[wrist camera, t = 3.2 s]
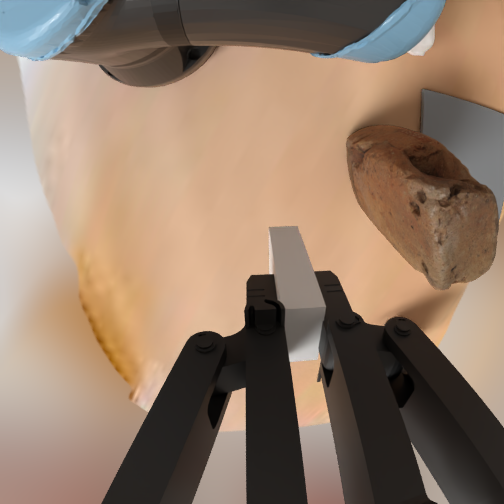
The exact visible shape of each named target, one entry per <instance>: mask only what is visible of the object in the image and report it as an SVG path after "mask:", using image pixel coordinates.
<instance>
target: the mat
mask: <svg viewBox="0 0 504 504" xmlns="http://www.w3.org/2000/svg"><path fill="white" fill-rule="evenodd" d="M420 133H422V134H424V135H427V136H429V137H431V138H433V139H435V140H437V141H439V142H440V143H441V144H443V145H444V146H445V147H446V148H447V149H448V150H449V151H450V152H451V153H453V154H454V155H455V157H457V158H458V159H459V160H460V161H461V163H462V164H463V165H465V166H466V167H467V168H468V170H469V173H470V174H471V176H472V177H473V178H474V179H476V180H477V181H478V182H479V183H480V184H483V185H486V186H487V187H488V188H489V189H491V190H492V192H493V193H494V195H495V197H496V201H497V207H498V214H499V219H500V214H501V210H502V206H503V201H504V114H502V113H500V112H497V111H494V110H492V109H489V108H486V107H484V106H481V105H478V104H475V103H472V102H469V101H466V100H462V99H459V98H456V97H452V96H449V95H445V94H441V93H438V92H434V91H430V90H426V89H422V107H421V130H420Z"/></svg>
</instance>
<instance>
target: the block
mask: <svg viewBox="0 0 504 504" xmlns="http://www.w3.org/2000/svg"><path fill="white" fill-rule="evenodd" d="M346 146H347V163H348V170H349V175H350V180H351V184H352V188H353V191H354V194H355V196H356V199H357V201H358V203H359V205H360V207H361V208H362V210H363V211H364V212H365V214H366V215H367V216H368V218H369V219H370V220H371V221H372V223H373V224H374V225H375V226H376V227H377V229H378V230H379V231H380V232H381V233H382V234H383V235H384V236H385V237H386V239H387V240H388V241H389V242H390V243H391V244H392V246H393V247H394V248H395V249H396V250H397V251H398V252H399V253H400V254H401V255H402V257H403V258H405V260H406V261H407V262H408V263H409V264H410V265H411V266H412V267H413V268H414V269H415V270H417V271H419V272H421V273H423V274H424V275H425V276H426V278H427V280H428V282H429V283H430V284H431V285H432V287H433V288H434V289H436V290H445V289H449V287H450V286H451V284H454V283H459V282H461V283H467V282H471V281H473V280H476V279H477V278H479V277H480V276H481V275H483V274H484V273H485V272H487V271H488V270H489V269H490V267H491V265H492V263H493V261H494V258H495V254H496V245H497V235H498V229H499V214H498V207H497V201H496V197H495V195H494V193H493V192H492V190H491V189H489V188H488V187H487V186H486V185H483V184H480V183H479V182H478V181H477V180H476V179H474V178H473V177H472V176H471V174H470V173H469V170H468V168H467V167H466V166H465V165H463V164H462V163H461V161H460V160H459V159H458V158H457V157H455V155H454V154H453V153H451V152H450V151H449V150H448V149H447V148H446V147H445V146H444V145H443V144H441V143H440V142H439V141H437V140H435V139H433V138H431V137H429V136H427V135H424V134H422V133H419V132H415V131H412V130H409V129H405V128H401V127H396V126H389V125H376V126H370V127H366V128H363V129H360V130H358V131H356V132H355V133H353V134H352V135H350V136H349V137H348V138H347V143H346Z"/></svg>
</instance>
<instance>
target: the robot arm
mask: <svg viewBox="0 0 504 504" xmlns="http://www.w3.org/2000/svg"><path fill="white" fill-rule="evenodd" d="M445 3H446V0H0V50H2V51H3V52H5V53H7V54H10V55H14V56H21V57H27V58H28V59H31V60H32V61H38V60H40V61H44V60H47V59H54V60H65V61H75V62H83V63H91V64H98V65H99V66H100V67H101V69H102V70H103V71H104V72H105V73H106V74H107V75H108V76H110V77H111V78H113V79H114V80H116V81H118V82H120V83H123V84H126V85H130V86H136V87H160V86H165V85H168V84H171V83H174V82H177V81H179V80H181V79H183V78H185V77H187V76H189V75H190V74H192V73H193V72H194V71H196V70H197V69H198V68H199V67H201V66H202V65H203V64H204V63H205V62H206V61H207V59H208V58H209V57H210V56H211V54H212V53H213V51H214V50H215V48H216V46H247V47H262V48H273V49H283V50H291V51H299V52H306V53H310V54H312V55H313V56H315V57H320V58H335V57H338V58H344V59H349V60H355V61H360V62H366V63H378V62H380V61H388V60H392V59H395V58H397V57H399V56H401V55H403V54H405V53H407V52H408V51H410V50H411V49H412V48H414V47H415V46H416V45H417V44H418V43H419V42H420V41H421V40H422V39H423V38H424V37H425V36H426V35H427V34H428V33H429V31H430V30H431V29H432V27H433V26H434V24H435V23H436V21H437V20H438V18H439V16H440V14H441V12H442V10H443V8H444V6H445ZM244 313H245V326H244V328H243V329H242V330H241V331H239V332H238V333H236V334H234V335H231V336H227V337H224V338H223V337H222V336H221V335H220V334H218V333H215V332H212V331H203V332H199V333H196V334H194V335H193V336H191V337H190V338H189V339H188V340H187V342H186V344H185V346H184V347H183V349H182V351H181V353H180V355H179V357H178V358H177V360H176V362H175V364H174V366H173V368H172V370H171V371H170V373H169V375H168V377H167V379H166V381H165V383H164V385H163V386H162V388H161V390H160V392H159V394H158V396H157V398H156V400H155V401H154V403H153V405H152V407H151V409H150V411H149V413H148V415H147V417H146V419H145V420H144V422H143V424H142V426H141V428H140V430H139V432H138V434H137V436H136V438H135V440H134V441H133V443H132V445H131V447H130V449H129V451H128V453H127V455H126V457H125V459H124V461H123V463H122V464H121V466H120V468H119V470H118V472H117V474H116V477H115V478H114V480H113V482H112V484H111V486H110V488H109V490H108V492H107V494H106V496H105V498H104V500H103V502H102V504H192V502H193V499H194V496H195V494H196V491H197V488H198V486H199V483H200V480H201V478H202V475H203V472H204V470H205V467H206V464H207V461H208V459H209V456H210V453H211V450H212V448H213V445H214V442H215V439H216V437H217V434H218V431H219V428H220V425H221V422H222V420H223V417H224V414H225V411H226V408H227V405H228V402H229V399H230V397H231V394H232V391H235V390H238V389H242V388H245V387H246V492H247V504H308V503H307V493H306V485H305V476H304V467H303V460H302V451H301V444H300V435H299V427H298V419H297V411H296V404H295V396H294V389H293V382H292V375H291V368H290V362H295V361H308V360H317V359H318V353H320V357H321V363H320V368H319V373H318V378H317V382H320V380H321V379H322V383H323V388H324V393H325V397H326V402H327V407H328V412H329V417H330V422H331V427H332V432H333V437H334V443H335V448H336V454H337V459H338V465H339V470H340V476H341V482H342V488H343V494H344V500H345V504H437V503H436V502H433V501H431V500H430V499H429V498H428V497H427V495H426V492H425V488H424V484H423V481H422V477H421V474H420V470H419V467H418V464H417V460H416V457H415V454H414V451H413V448H412V445H411V442H412V444H413V445H414V447H415V448H416V450H417V452H418V453H419V455H420V456H421V458H422V460H423V461H424V463H425V464H426V466H427V467H428V469H429V471H430V472H431V474H432V476H433V477H434V479H435V480H436V482H437V484H438V485H439V487H440V488H441V490H442V492H443V493H444V495H445V497H446V498H447V500H448V502H449V503H450V504H504V428H503V426H502V425H501V424H500V422H499V421H498V420H497V418H496V417H495V416H494V414H493V413H492V412H491V411H490V409H489V408H488V407H487V406H486V404H485V403H484V402H483V401H482V399H481V398H480V397H479V396H478V394H477V393H476V392H475V391H474V390H473V388H472V387H471V386H470V385H469V383H468V382H467V381H466V380H465V379H464V378H463V376H462V375H461V374H460V373H459V372H458V371H457V369H456V368H455V367H454V366H453V365H452V364H451V363H450V361H449V360H448V359H447V358H446V357H445V356H444V355H443V354H442V352H441V351H440V350H439V349H438V348H437V347H436V346H435V344H434V343H433V342H432V341H431V340H430V339H429V338H428V337H427V336H426V335H425V334H424V332H423V331H422V330H421V329H420V328H419V327H418V326H417V325H416V324H415V323H414V322H412V321H411V320H409V319H407V318H403V317H395V318H391V319H390V320H388V321H387V323H386V325H385V326H378V325H371V324H367V323H365V322H364V320H363V319H362V317H361V316H360V315H358V314H357V313H355V312H353V311H352V309H351V306H350V304H349V302H348V299H347V297H346V295H345V293H344V291H343V288H342V286H341V284H340V281H339V279H338V277H337V276H336V275H335V274H333V273H332V272H331V271H315V272H314V270H313V267H312V265H311V262H310V259H309V256H308V253H307V251H306V248H305V245H304V242H303V240H302V237H301V234H300V232H299V229H298V226H285V227H269V274H267V275H251V276H250V278H249V279H248V281H247V304H246V307H245V310H244Z"/></svg>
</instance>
